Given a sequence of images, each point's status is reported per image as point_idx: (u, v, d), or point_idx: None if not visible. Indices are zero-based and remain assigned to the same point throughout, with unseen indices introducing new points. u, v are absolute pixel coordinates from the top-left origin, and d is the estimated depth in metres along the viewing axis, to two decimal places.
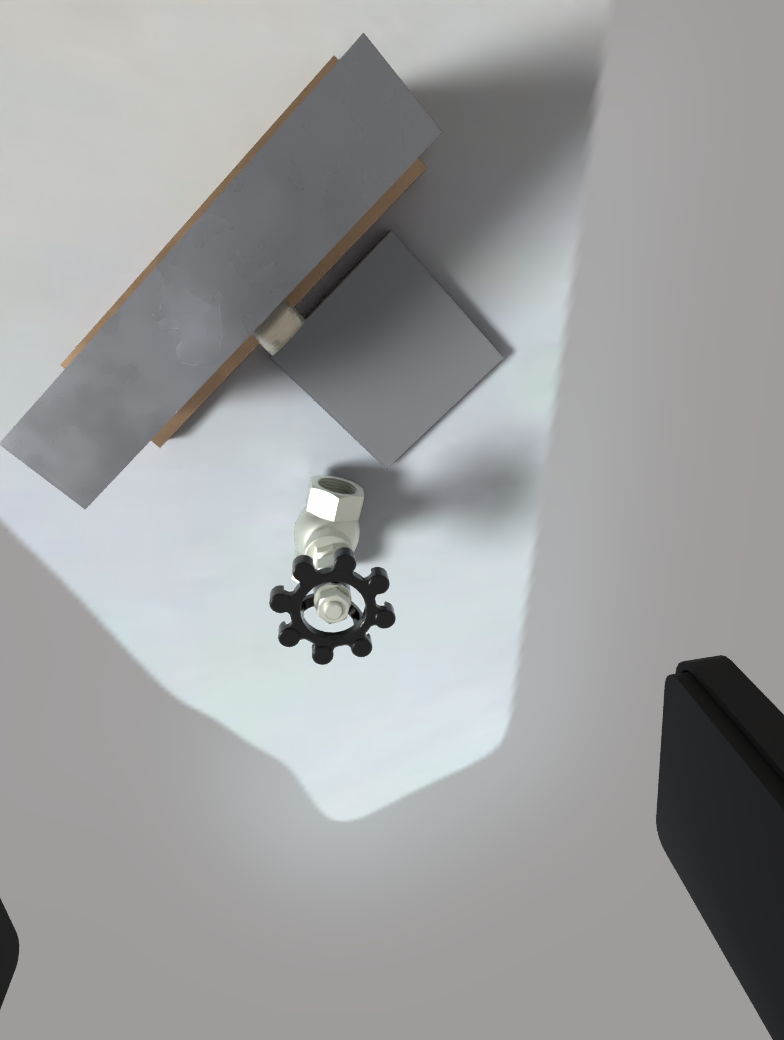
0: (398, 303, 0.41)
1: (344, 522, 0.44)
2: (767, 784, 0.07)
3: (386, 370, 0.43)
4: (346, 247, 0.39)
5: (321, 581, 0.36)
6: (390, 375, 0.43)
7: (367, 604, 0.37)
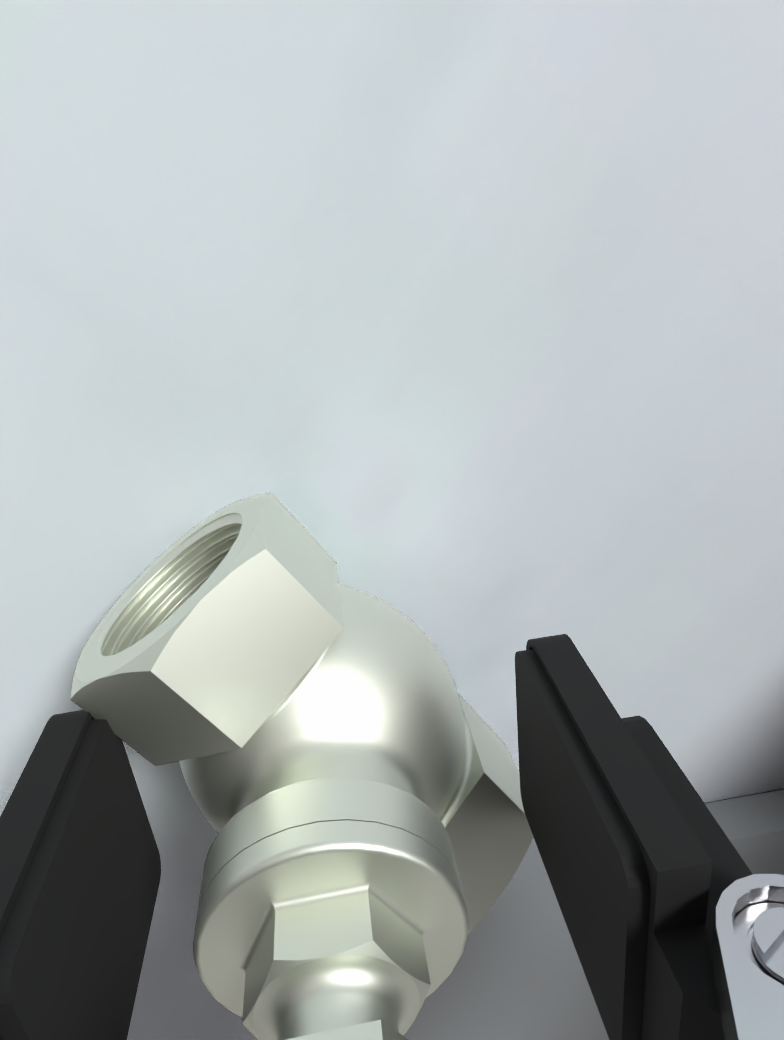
0: None
1: None
2: (570, 745, 0.08)
3: (584, 1001, 0.16)
4: None
5: None
6: (566, 1003, 0.16)
7: None
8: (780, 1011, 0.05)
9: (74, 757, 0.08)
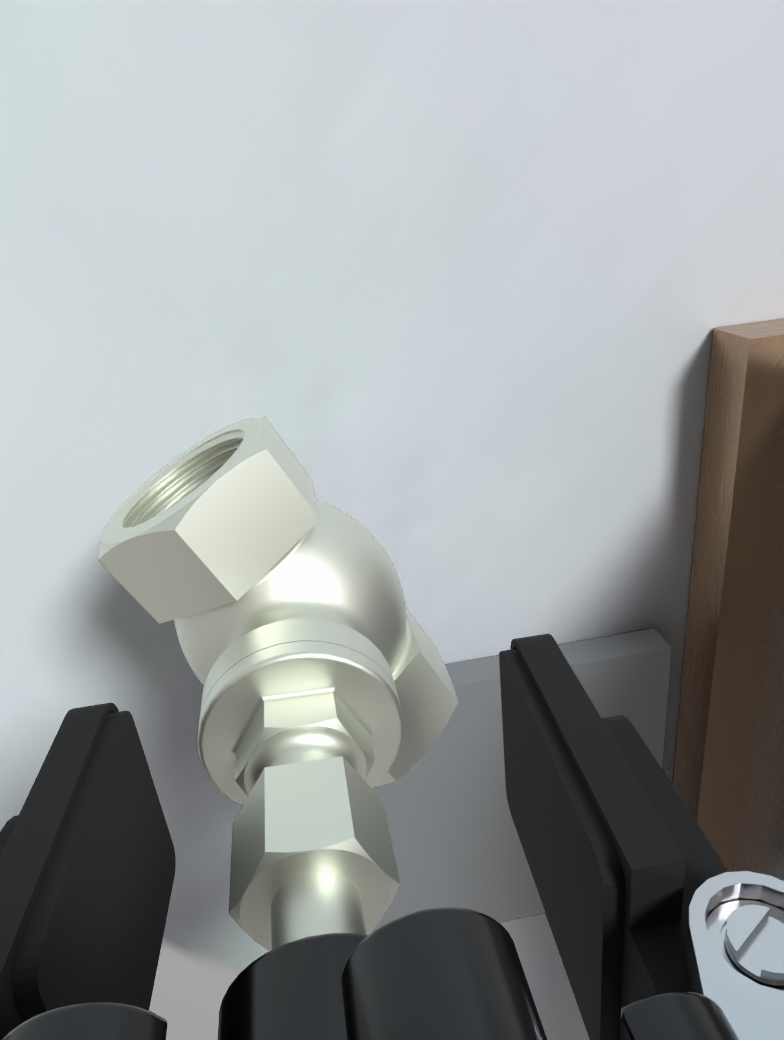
0: None
1: None
2: (550, 744, 0.08)
3: (489, 798, 0.21)
4: None
5: None
6: (475, 800, 0.21)
7: None
8: (753, 1009, 0.05)
9: (93, 750, 0.09)
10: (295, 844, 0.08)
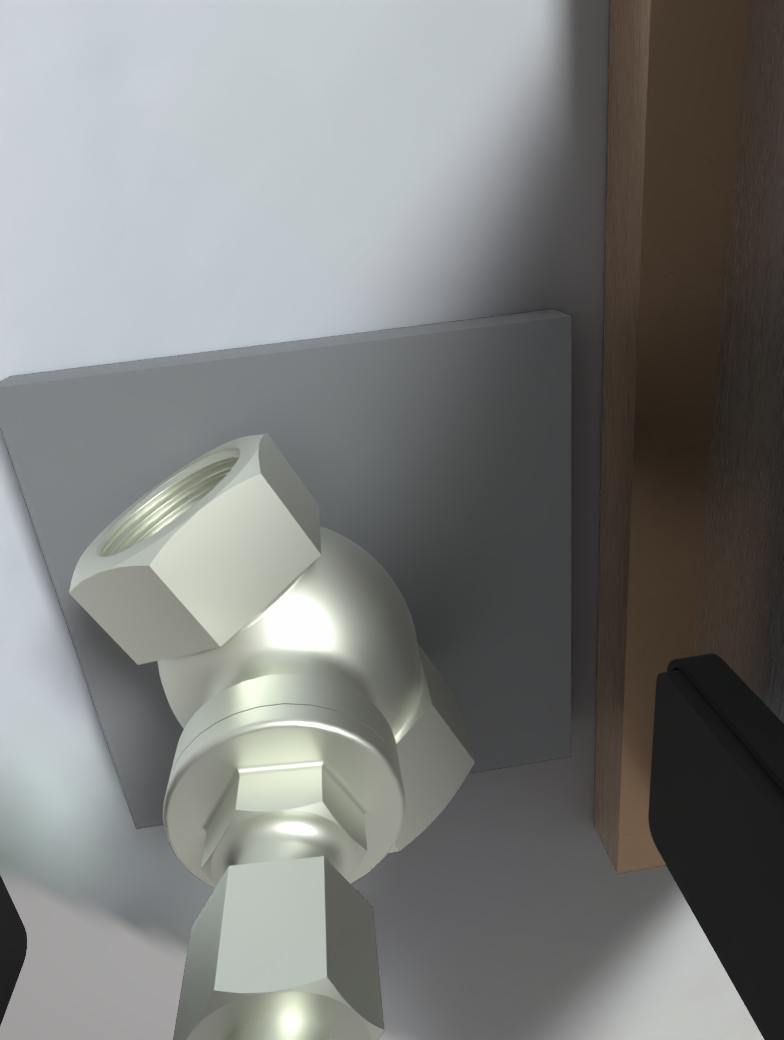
0: None
1: None
2: (755, 781, 0.07)
3: None
4: (632, 674, 0.15)
5: None
6: None
7: None
8: None
9: None
10: (252, 981, 0.06)
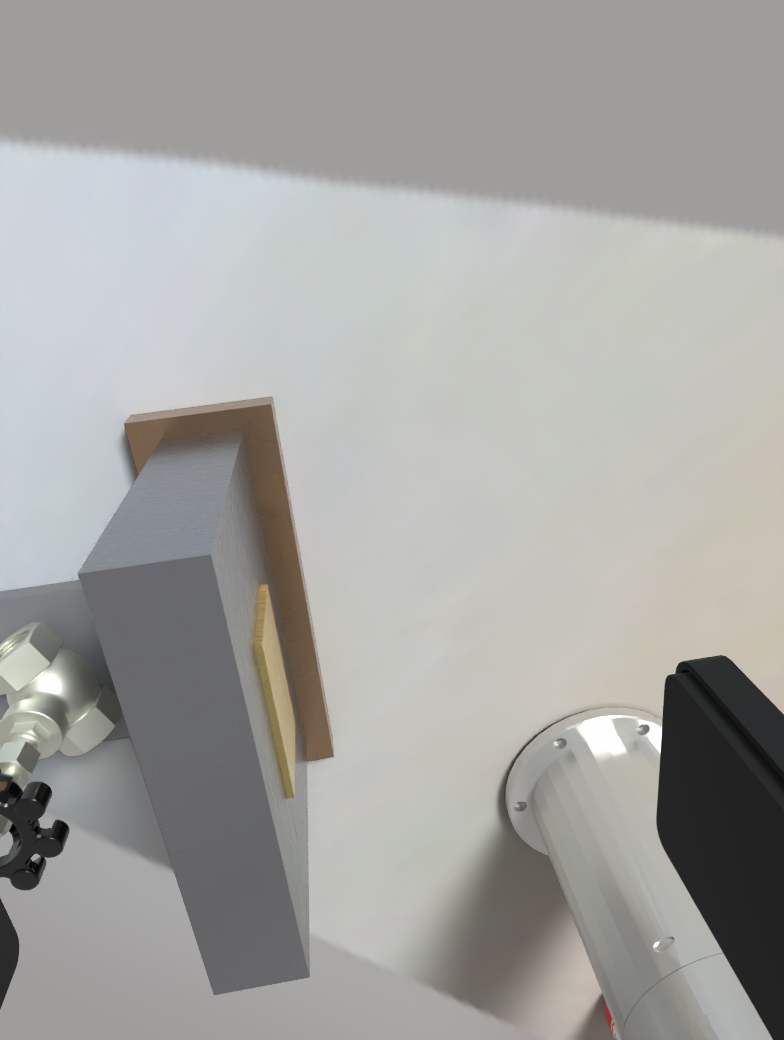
0: None
1: None
2: (767, 784, 0.07)
3: None
4: None
5: (23, 852, 0.29)
6: None
7: None
8: None
9: None
10: (1, 760, 0.31)
